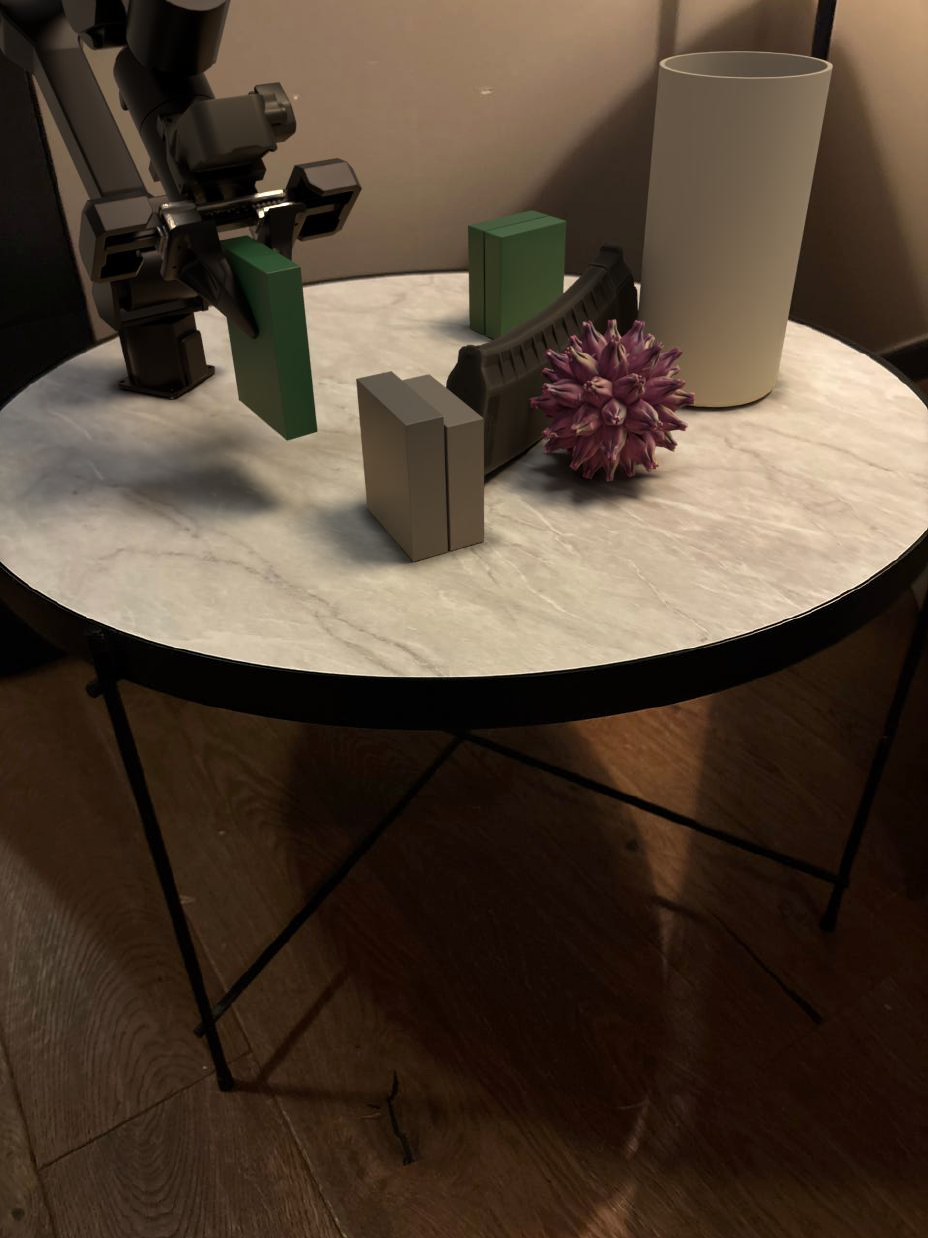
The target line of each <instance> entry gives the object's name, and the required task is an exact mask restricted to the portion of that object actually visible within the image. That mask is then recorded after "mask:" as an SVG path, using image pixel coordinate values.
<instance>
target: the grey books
mask: <svg viewBox="0 0 928 1238" xmlns="http://www.w3.org/2000/svg"><path fill="white" fill-rule="evenodd" d="M355 383H356V393H357V395H356V396H357V405H358V416H359V417H358V418H359V428H360V441H361V451H362V463H363V474H364V487H365V498H366V509H367V510H368V511H369V513H371V515H372V516H373V517H374V518H375V520H377V522H378V523H379V524H380V525H381V527H382V528H383V529H384V530H385V531H386V532H387V533H388V534H389V536H390V537H391V538H392V539H393V540H394V541H395V542H396V544H397V545H398V546H399V547H400V548H401V550H402V551H403V552H404V553H405V554H406V555H407V557H408V558H409V559H410V560H411V561H412V562H413V563H414V562H418V561H421V560H424V559H428V558H431V557H436V556H439V555H441V554H445V553H448V552H449V551H456V550H459V549H462V548H466V547H469V546H473V545H477V544H479V543H483V542H485V475H484V425H483V418H482V417H481V416H480V415H479V414H477V413H476V412H475V411H474V410H473V409H471V408H470V407H469V406H468V405H466V404H465V403H464V402H463V401H462V400H460V399H459V398H458V397H457V396H455V395H454V394H453V393H452V392H451V391H449V390H448V389H447V388H446V386H444V385H443V384H442V383H441V382H439V381H438V380H437V379H436V378H435V377H434V376H432V375H431V374H430V373H428V374H424V375H419V376H415V377H410V378H406V379H405V378H404V379H401V378H400V377H399V376H398V375H397V374H396V373H394V372H393V371H391V370H390V371H386V372H385V371H384V372H381V373H376V374H372V375H368V376H367V375H366V376H363V377H362V376H361V377H358V378H356V379H355Z"/></svg>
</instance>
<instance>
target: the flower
mask: <svg viewBox="0 0 928 1238" xmlns="http://www.w3.org/2000/svg"><path fill="white" fill-rule="evenodd" d="M644 326H645V321H642V322H640V321H637V320H635V322H634V324H633V326H632V328H631V329H630V330H629V331H628V332H627V333H626V334H625V335H624V336H623V337H622V338H621V336H620V335H619V333H618V331H617V326H616V320H615V319H614V320H611V321H608V327H607V330H606V332H605V334H604V336H602V335H601V334H600V333H598V332H597V331H596V330H595V329H594V327H593V324H592V322H591V321H588V323H587V322H583V331H584V335H583V341H582V342H581V341H579V340H578V338H577V337H576V336H575V335H574V336H571V337H570V339H568V341H569V343H570V347H568V348H566V351H565V353H566V354H559V353H555V352H554V351H552V350H550V349H548V350H547V351H546V353H544V354H543V355H544V357H545V358H546V359H547V360H548V361H549V362H550V363H551V366H552V368H553V370H550V369H547V368H544V370H543V371H542V376H544V377H546V378H547V379H549V381H550V382H551V383H552V384H544V386H543V387H542V388H543V392H544V394H542V395H541V396H539V397H535V398H530V399H529V401H530V402H531V403H530V404H531V406H530V407H531V408H537V409H540V410H542V411H543V412H545V416H546V418H554V419H553V421H552V423H551V425H550V426H549V427H548V428H547V429H545V430H544V431H542V433H543V437H542V438H544V440H545V441H547V440H548V441H547V442H545V444H544V446H543V448H545V451H544V452H545V453H546V454H551V453H552V452H555V451H558V450H559V451H560V450H566V451H567V453H568V454H570V455H572V460H571V462H570V464H569V467H570V468H571V469H572V470H574V471H577V470H578V469H579V467H580V466H581V465H582V468H583V470H582V471H583V472H582V478H585V479H587V480H588V479H589V480H592V478H593V477H594V474H595V472H597V471H598V470H599V469H600V468H601V467H603V469H604V472H605V475H606V482H611V481H613V480H614V474H615V471H616V469H617V466H618V465H620V466H621V467H622V468H623V469H624V472H625V474H626V476H627V477H629V478H632V477H633V476H634V477H635V475H636V468H635V467H636V463H637V464H640V465H641V466H643V467H644V468H645V470H646V471H647V472H648V473H650V472H651V471H652V470H655V471H656V470H657V468H659V463H658V461H657V459H656V447H658V448H665V449H666V450H668V451H670V452H674V453H675V450H676V447H677V446H678V441H676V439H674V438H673V436H672V433H671V432H674V431H681V432H687V431H686V429H687V428H688V427H689V424H688V423H687V422H685V421H683V420H681V419H679V417H678V416H677V415H676V414H675V413H676V412H677V411H678V410H679V409H681V408H683V407H685V406H690V404H694V403H695V402H694V401H695V398H694V396H695V393H689V392H684V391H682V390H680V389H681V388H683V387H684V385H685V384H686V383H685V381H683V380H682V379H676V380H674V379H673V377H674V376H675V375H676V374H678V373H679V372H680V368H679V366H678V365H677V366H674V367H672V365H673V364H674V362H675V361H676V360H677V359H678V358H679V357H680V356H681V355H682V353H683V350H681V351H679V347H676V348H674V349H672V350H671V351H669V352H665V353H660V352H661V350H662V349H663V348H664V345H662V343H661V342H657V343H656V344H655V345H654V346H652V343H653V341H654V339H655V338H654V337H653V335H650V334H647V335H646V336H645V337H644V338H643V329H644Z"/></svg>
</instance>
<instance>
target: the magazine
mask: <svg viewBox="0 0 928 1238" xmlns="http://www.w3.org/2000/svg"><path fill="white" fill-rule="evenodd" d="M632 271H633V270H632V269H631V268H630V266H628V264H627V263H626V259H625V255H624V248H623V246H622V245H620V244H617V243H609V242H604V243H603V244H602V245H601V247H600V248H599V252H598V255H597V257H596V258H595V259H593V260H592V261H591V262H590V263H589V264H588V265H587V268H586V270H585V271H584V272H582V274H581V275H580V276H579V277H578V278H577V279H576V280H575V281H574V282H573V283H572V284H571V285H570V286H569V287H568V288H567V289H566V290H565V291H563V294H562V295H561V296H560V297H559V298H557V299H556V300H555V301H554V302H553V303H551V304H550V305H549V306H548V307H547V308H545V309H544V310H543V311H541V312H540V313H539V314H537V315H536V316H534V317H533V318H531V319H529V320H528V321H526V322H524V323H523V324H521V325H519V326H518V327H516V328H514V329H513V330H511V331H510V332H508V333H507V334H505V335H503V336H501V337H499V338H497V339H495V340H494V339H492V340H490V341H487V342H485V343H482V344H478V345H474V344H466V345H463V346H462V347H460V348H459V350H458V353H457V354H458V355H457V361H456V364H455V365H454V367H453V368H452V370H451V371H450V373H449V374H448V376H447V379H446V382H445V383H446V384H445V387H446V388H447V389H448V390H449V391H451V392H452V393H453V394H454V395H455V396H457V397H458V398H459V399H460V400H462V401H463V402H464V403H465V404H466V405H468V406H469V407H470V408H471V409H473V410H474V411H475V412H476V413H477V414H479V415H480V416H481V417H482V418H483V425H484V476H487V475H488V474H489V473H491V472H492V471H494V470H496V469H497V468H499V467H501V466H503V465H505V464H506V463H507V462H509V461H511V460H512V459H514V458H515V457H517V456H519V455H520V454H522V453H523V452H524V451H526V450H527V449H529V448H530V447H532V446H533V445H534V444H536V443H537V442H538V441H540V440H542V438H544V437H543V433H542V431H544V430H545V429H547V428H548V427H549V426H550V425H551V423H552V421H553V419H554V418H546V416H545V412H543V411H542V410H540V409H537V408H531V407H530V406H531V404H530V403H531V402H530V401H529V399H530V398H535V397H539V396H541V395H542V394H544V392H543V388H542V387H543V386H544V384H552V383H551V382H550V381H549V379H547V378H546V377H544V376H542V371H543V370H544V368H547V369H550V370H553V368H552V366H551V363H550V362H549V361H548V360H547V359H546V358H545V357H544V355H543V354H544V353H546V351H547V350H548V349H550V350H552V351H554V352H555V353H559V354H566V353H565V351H566V348H568V347H570V343H569V341H568V339H570V337H571V336H574V335H575V336H576V337H577V338H578V340H579V341H581V342H582V341H583V335H584V331H583V322H587V323H588V321H591V322H592V324H593V327H594V329H595V330H596V331H597V332H598V333H600V334H601V335H602V336H604V334H605V332H606V330H607V327H608V321H611V320H614V319H615V320H616V326H617V331H618V333H619V335H620V336H621V338H622V337H623V336H624V335H625V334H626V333H627V332H628V331H629V330H630V329H631V328H632V326H633V324H634V322H635V320H637V319H638V307H639V296H638V295H639V294H638V289H637V286H635V281H634V276H633V274H632Z"/></svg>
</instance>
